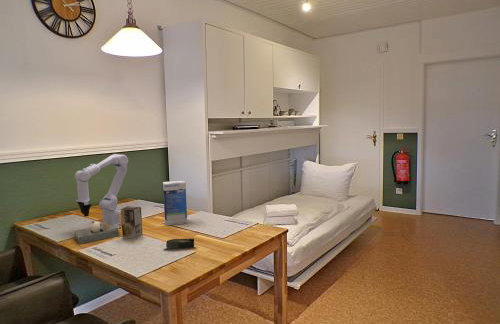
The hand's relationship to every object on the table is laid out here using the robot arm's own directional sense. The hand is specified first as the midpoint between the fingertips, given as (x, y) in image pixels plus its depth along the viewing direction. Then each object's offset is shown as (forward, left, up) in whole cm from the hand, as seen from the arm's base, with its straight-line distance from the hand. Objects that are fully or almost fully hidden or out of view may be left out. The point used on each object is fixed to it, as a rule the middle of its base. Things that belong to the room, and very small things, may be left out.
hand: (85, 214), depth 197 cm
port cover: (-11, +14, -6) cm, 19 cm away
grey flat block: (-3, +13, -10) cm, 17 cm away
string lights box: (-48, +17, -10) cm, 52 cm away
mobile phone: (-32, +57, -10) cm, 67 cm away
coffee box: (-19, +25, -10) cm, 33 cm away
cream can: (-3, +15, -8) cm, 17 cm away
